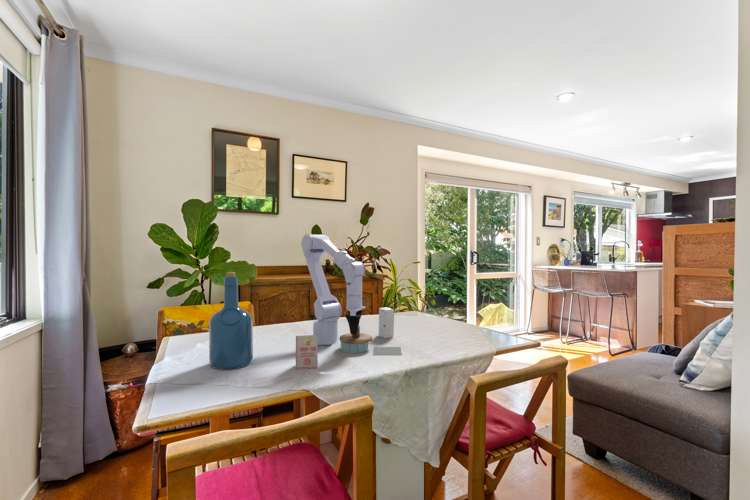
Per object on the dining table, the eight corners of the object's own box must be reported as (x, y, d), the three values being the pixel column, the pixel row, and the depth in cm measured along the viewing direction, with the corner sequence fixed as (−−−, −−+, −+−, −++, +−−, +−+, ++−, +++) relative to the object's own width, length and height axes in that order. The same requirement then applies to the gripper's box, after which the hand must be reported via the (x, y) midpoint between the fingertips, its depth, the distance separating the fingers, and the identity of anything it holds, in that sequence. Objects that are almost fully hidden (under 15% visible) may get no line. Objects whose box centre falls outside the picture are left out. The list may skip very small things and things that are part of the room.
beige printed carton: (296, 365, 119) (296, 334, 119) (317, 364, 120) (317, 333, 120) (295, 369, 115) (295, 337, 115) (317, 367, 117) (317, 336, 116)
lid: (337, 343, 130) (337, 329, 130) (342, 334, 142) (342, 322, 142) (371, 343, 129) (371, 330, 129) (373, 335, 141) (373, 322, 141)
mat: (373, 356, 128) (373, 355, 127) (373, 348, 138) (373, 346, 137) (402, 356, 127) (402, 355, 127) (400, 348, 137) (400, 346, 137)
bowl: (339, 354, 131) (339, 342, 131) (342, 346, 141) (342, 335, 141) (367, 354, 131) (367, 342, 130) (368, 346, 141) (368, 335, 140)
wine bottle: (210, 360, 124) (209, 271, 124) (252, 355, 129) (251, 270, 128) (207, 373, 111) (206, 274, 111) (253, 368, 116) (253, 273, 115)
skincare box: (377, 336, 155) (377, 307, 155) (387, 335, 157) (387, 306, 157) (385, 339, 150) (385, 310, 149) (394, 338, 152) (394, 309, 152)
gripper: (364, 297, 128) (364, 336, 128) (366, 292, 142) (366, 327, 143) (344, 297, 128) (344, 336, 128) (347, 292, 142) (347, 327, 143)
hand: (354, 331), depth 135 cm, fingers open, 7 cm apart
